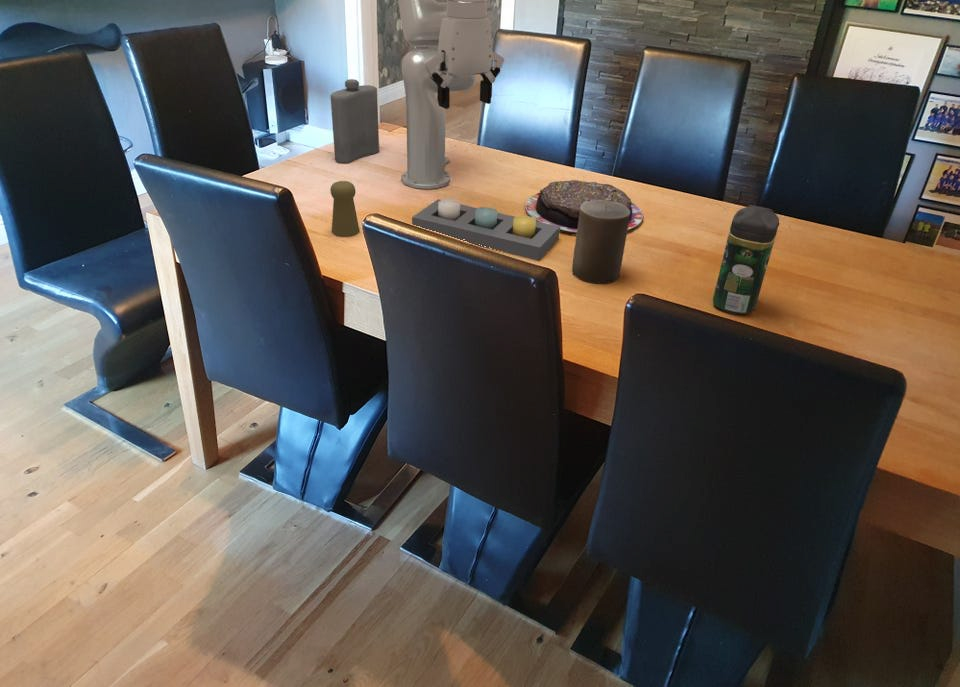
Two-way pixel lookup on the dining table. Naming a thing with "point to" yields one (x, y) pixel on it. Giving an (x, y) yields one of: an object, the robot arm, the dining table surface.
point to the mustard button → (524, 226)
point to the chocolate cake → (575, 203)
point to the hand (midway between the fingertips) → (464, 104)
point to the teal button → (486, 217)
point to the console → (489, 232)
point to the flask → (355, 122)
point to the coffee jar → (745, 259)
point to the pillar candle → (600, 241)
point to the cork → (344, 210)
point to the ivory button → (449, 209)
